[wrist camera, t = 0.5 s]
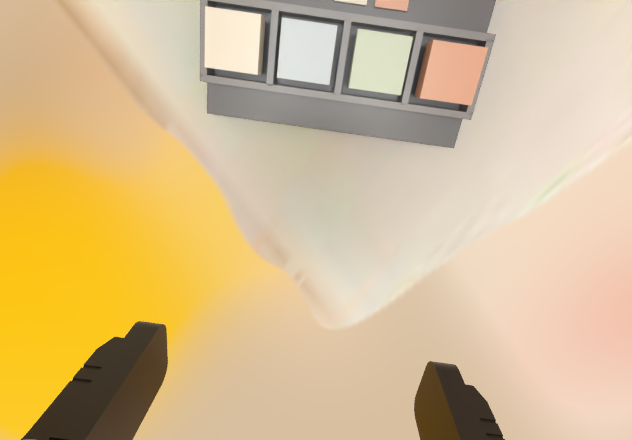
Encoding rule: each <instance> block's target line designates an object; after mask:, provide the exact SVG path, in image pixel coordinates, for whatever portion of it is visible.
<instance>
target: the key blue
mask: <svg viewBox="0 0 632 440" xmlns="http://www.w3.org/2000/svg"><path fill="white" fill-rule="evenodd" d="M336 33H337V25H330V24H324V23H317V22H310V21H303V20H296V19H290V18H283V17H282V22H281V34H280V46H279V58H278V70H277V78H283V79H290V80H297V81H304V82H311V83H318V84H325V85H329V84H330V77H331V69H332V62H333V55H334V48H335V40H336Z"/></svg>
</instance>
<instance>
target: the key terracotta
mask: <svg viewBox="0 0 632 440" xmlns="http://www.w3.org/2000/svg"><path fill="white" fill-rule="evenodd" d="M487 51H488V48H487V47H480V46H474V45H467V44H460V43H453V42H446V41H439V40H431V41H428V42H427V43H426V47H425V52H424V56H423V61H422V65H421V69H420V74H419V78H418V83H417V87H416V91H415V96H414V97H417V98H422V99H429V100H436V101H443V102H450V103H457V104H464V105H471V106H472V102H473V99H474V95H475V92H476V89H477V85H478V82H479V78H480V75H481V71H482V68H483V64H484V61H485V57H486V54H487Z"/></svg>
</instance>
